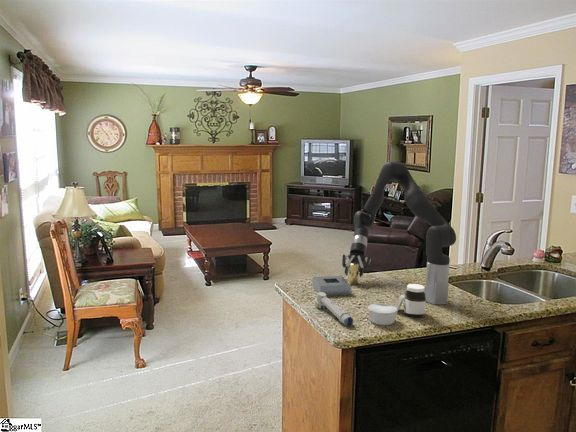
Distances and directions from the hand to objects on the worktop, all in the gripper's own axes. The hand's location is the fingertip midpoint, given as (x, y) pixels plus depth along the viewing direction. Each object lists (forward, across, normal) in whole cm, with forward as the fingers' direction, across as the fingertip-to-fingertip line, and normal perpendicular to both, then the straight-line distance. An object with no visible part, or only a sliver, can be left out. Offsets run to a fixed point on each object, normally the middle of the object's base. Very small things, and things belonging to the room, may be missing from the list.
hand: (353, 275), depth 230 cm
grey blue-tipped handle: (+34, 0, -27) cm, 43 cm away
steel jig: (+12, -8, -6) cm, 16 cm away
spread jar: (+25, +29, -18) cm, 42 cm away
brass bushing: (+2, 0, +4) cm, 5 cm away
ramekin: (+33, +20, -27) cm, 47 cm away
